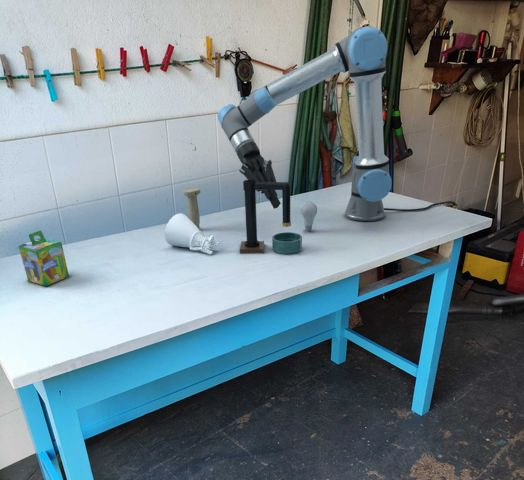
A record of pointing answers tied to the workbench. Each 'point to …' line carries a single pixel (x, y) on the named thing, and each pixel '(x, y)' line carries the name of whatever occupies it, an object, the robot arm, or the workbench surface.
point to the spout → (284, 186)
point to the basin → (287, 242)
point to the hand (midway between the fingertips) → (277, 206)
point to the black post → (251, 226)
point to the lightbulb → (308, 214)
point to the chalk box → (43, 260)
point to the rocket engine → (188, 235)
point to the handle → (193, 205)
